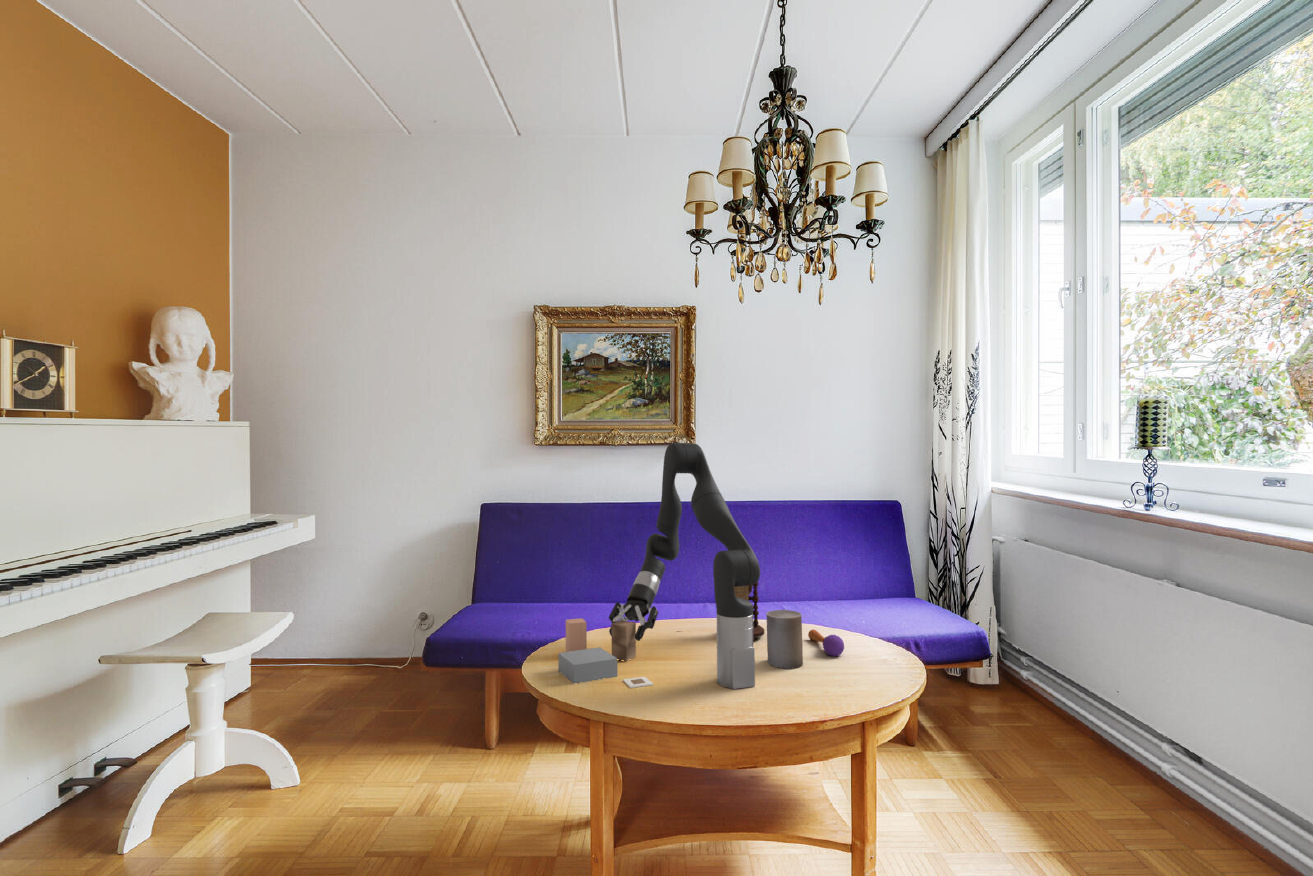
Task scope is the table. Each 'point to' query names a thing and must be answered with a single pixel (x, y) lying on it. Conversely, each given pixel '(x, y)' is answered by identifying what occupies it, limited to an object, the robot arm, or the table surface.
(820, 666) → the table surface
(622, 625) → the walnut block
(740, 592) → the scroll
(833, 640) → the purple maraca
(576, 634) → the terracotta block
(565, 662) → the slate slab
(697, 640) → the table surface
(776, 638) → the pillar candle
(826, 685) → the table surface
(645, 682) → the card
